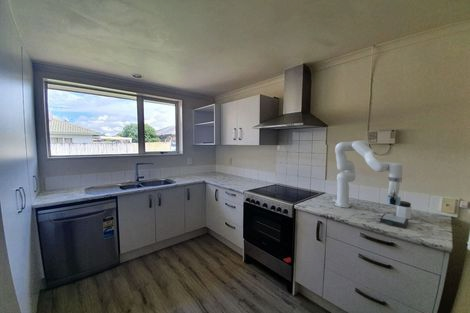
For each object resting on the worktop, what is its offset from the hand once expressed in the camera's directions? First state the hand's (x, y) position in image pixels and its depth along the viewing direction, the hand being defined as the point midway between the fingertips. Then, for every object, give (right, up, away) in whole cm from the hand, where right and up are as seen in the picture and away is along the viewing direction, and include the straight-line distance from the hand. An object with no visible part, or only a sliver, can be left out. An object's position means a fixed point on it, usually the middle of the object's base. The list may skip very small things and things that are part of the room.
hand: (393, 202), depth 138 cm
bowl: (0, -1, 0) cm, 1 cm away
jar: (+16, -14, +10) cm, 24 cm away
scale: (+1, -15, +1) cm, 15 cm away
